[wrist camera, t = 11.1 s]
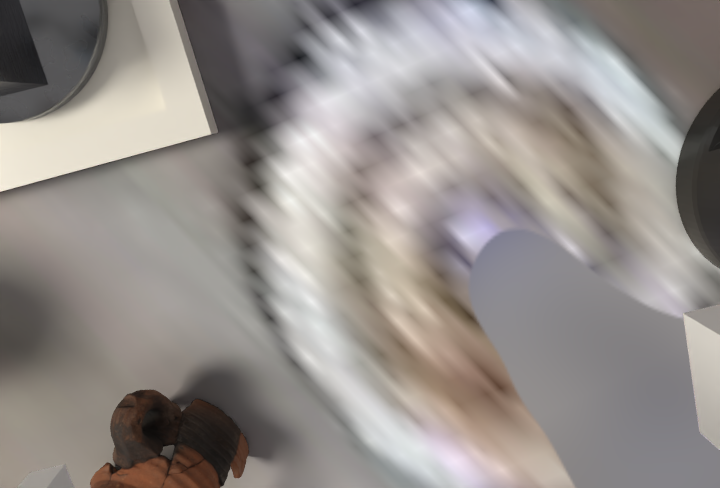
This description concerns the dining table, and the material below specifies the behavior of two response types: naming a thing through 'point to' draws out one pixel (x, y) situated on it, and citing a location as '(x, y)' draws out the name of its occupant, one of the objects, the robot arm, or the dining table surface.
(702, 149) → the robot arm
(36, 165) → the dial panel
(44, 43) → the dial
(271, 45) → the dining table surface
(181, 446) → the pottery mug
